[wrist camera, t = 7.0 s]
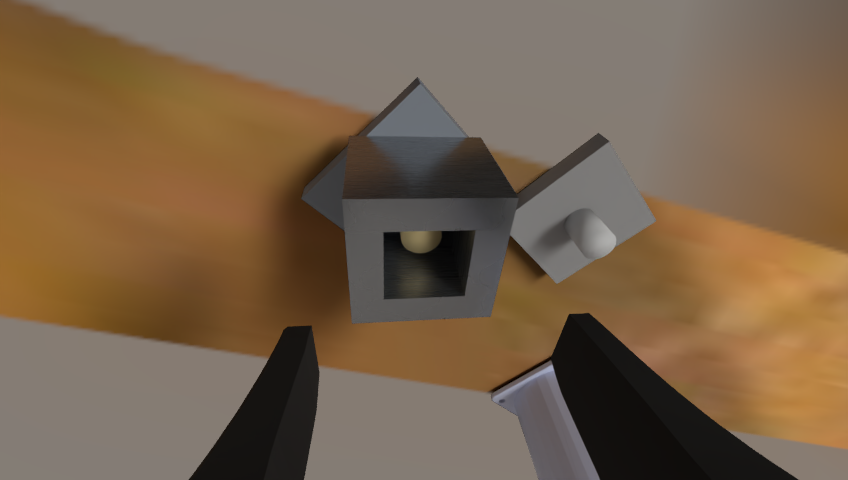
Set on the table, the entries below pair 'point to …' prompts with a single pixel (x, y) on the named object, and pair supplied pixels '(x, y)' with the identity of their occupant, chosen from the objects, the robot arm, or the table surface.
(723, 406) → the table surface
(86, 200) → the table surface
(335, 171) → the hub plate
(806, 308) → the table surface
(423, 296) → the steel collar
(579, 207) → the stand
